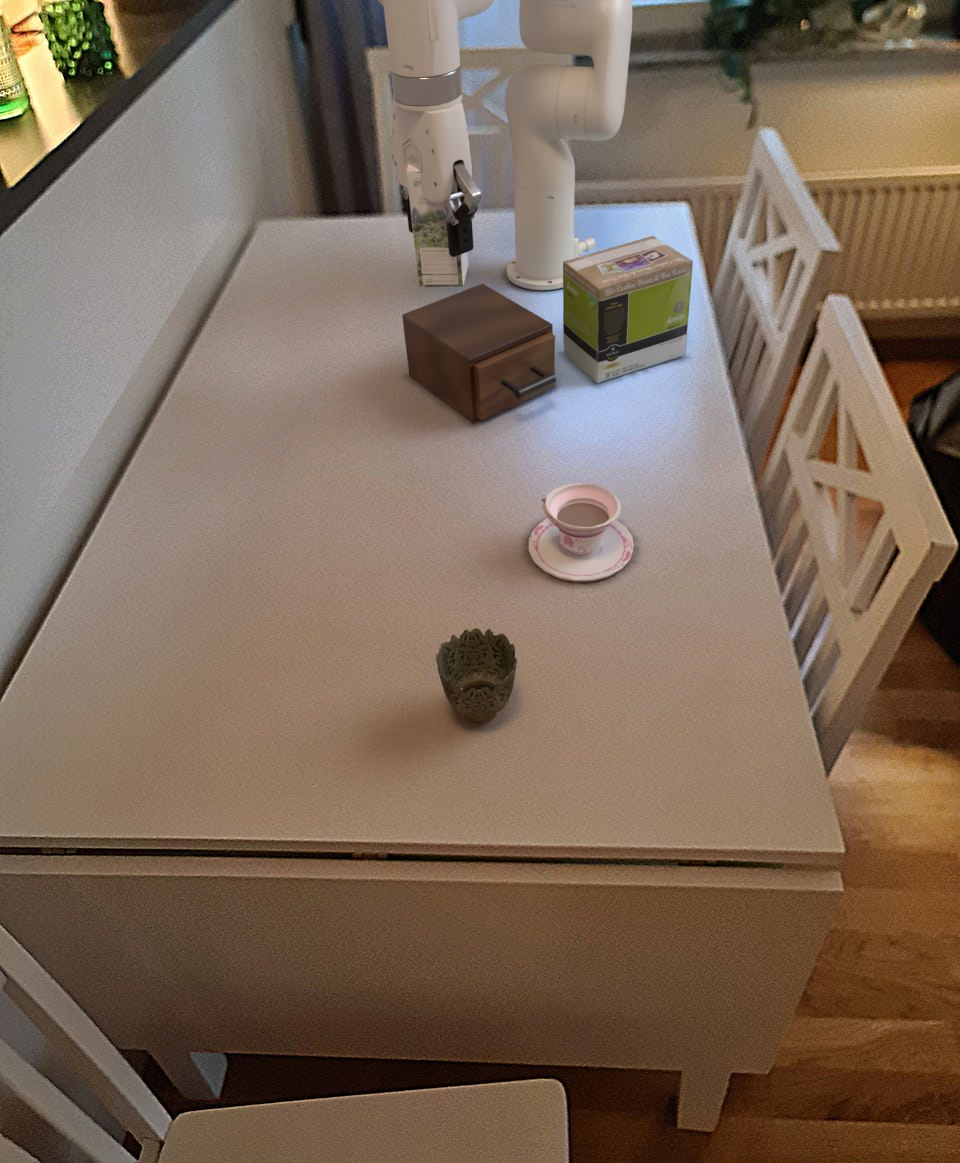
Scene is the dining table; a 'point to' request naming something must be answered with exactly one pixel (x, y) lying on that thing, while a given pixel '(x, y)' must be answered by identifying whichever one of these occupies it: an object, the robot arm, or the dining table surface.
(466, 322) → the cabinet
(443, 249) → the syrup box
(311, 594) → the dining table surface
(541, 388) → the drawer
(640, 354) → the tea box
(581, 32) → the robot arm
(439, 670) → the cup
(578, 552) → the teacup
